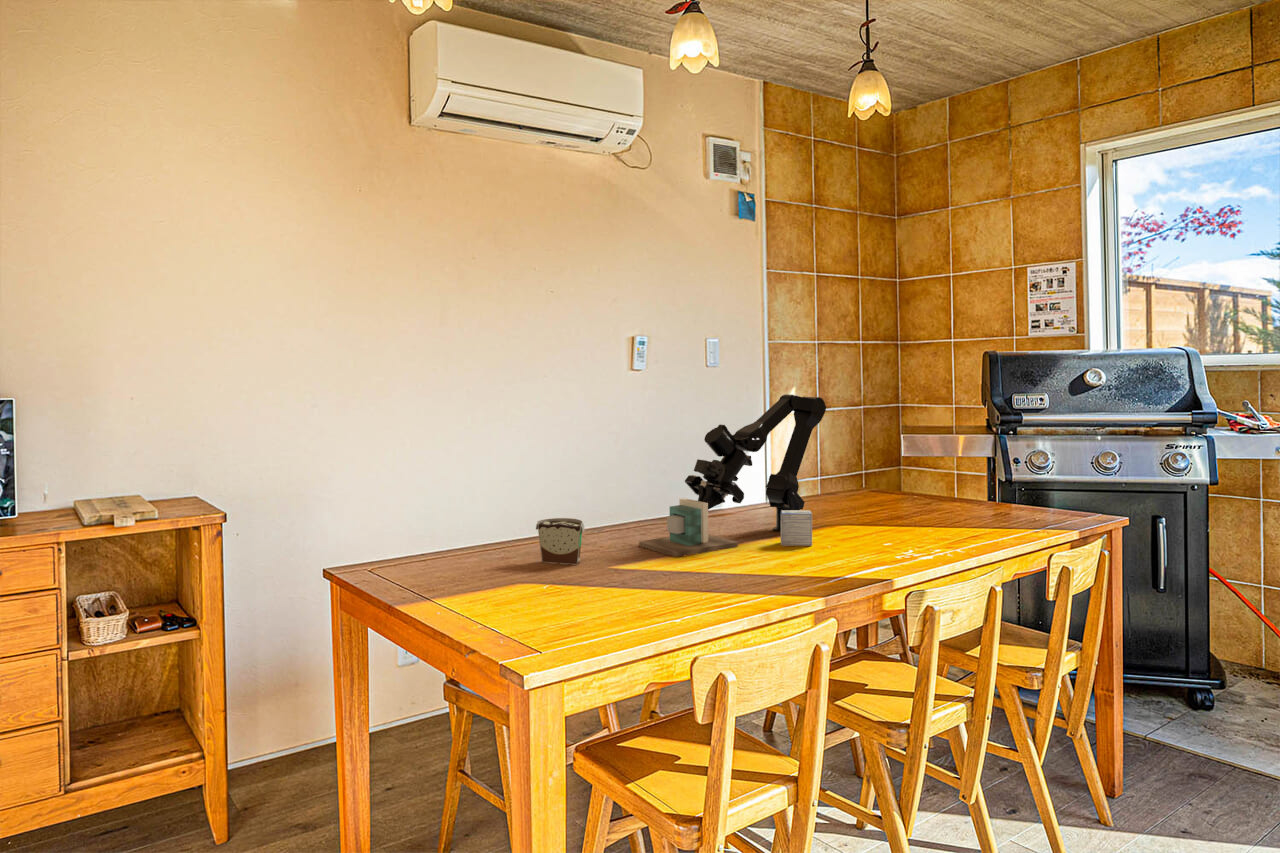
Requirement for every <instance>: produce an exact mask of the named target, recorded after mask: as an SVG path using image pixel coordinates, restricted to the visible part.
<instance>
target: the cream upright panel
mask: <svg viewBox="0 0 1280 853" xmlns="http://www.w3.org/2000/svg"><path fill="white" fill-rule="evenodd" d="M678 505H685V506H689V507H694V508H698V509H701V542H703V543H704V542H708V534H709V510H708V503H705V502H700V501H698V500H694V499H689V498H685V497H684V498H683V497H682V498H679V503H678ZM666 529H667V530H666V531H667V533H670V532H671V533H674V534H680V533H685V516H682V515H672V516H670V515H668V516H666Z"/></svg>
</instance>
